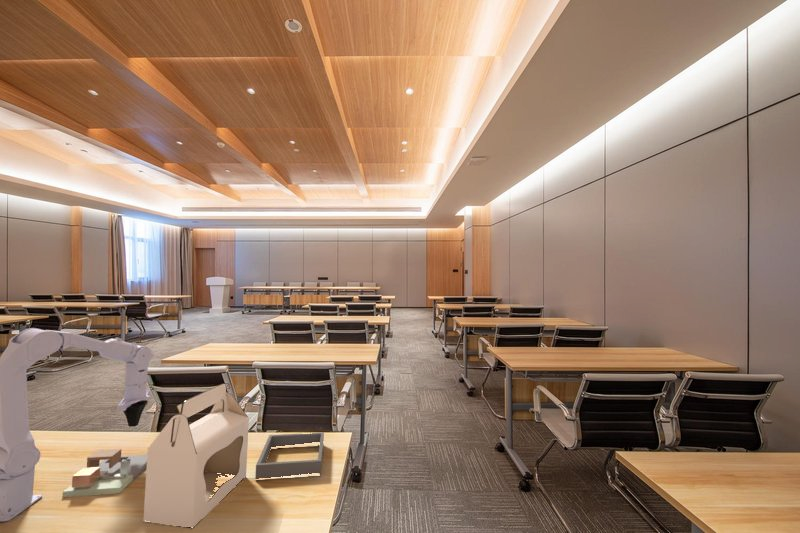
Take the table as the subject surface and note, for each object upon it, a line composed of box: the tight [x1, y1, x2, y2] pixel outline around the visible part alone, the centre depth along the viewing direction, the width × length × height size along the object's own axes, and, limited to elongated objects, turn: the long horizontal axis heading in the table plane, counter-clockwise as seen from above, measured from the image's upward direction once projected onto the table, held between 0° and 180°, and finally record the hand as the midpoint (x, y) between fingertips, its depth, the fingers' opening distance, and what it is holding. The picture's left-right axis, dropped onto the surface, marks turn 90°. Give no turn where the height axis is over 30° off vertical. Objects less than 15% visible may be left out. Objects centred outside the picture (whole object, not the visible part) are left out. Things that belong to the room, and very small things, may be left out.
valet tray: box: [255, 431, 325, 479], centre depth 110 cm, size 20×19×4 cm
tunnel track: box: [62, 448, 147, 498], centre depth 100 cm, size 18×13×6 cm
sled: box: [71, 459, 131, 489], centre depth 95 cm, size 8×10×4 cm
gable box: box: [142, 383, 250, 528], centre depth 92 cm, size 22×13×28 cm, turn 172°
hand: (133, 425), depth 110 cm, fingers closed
